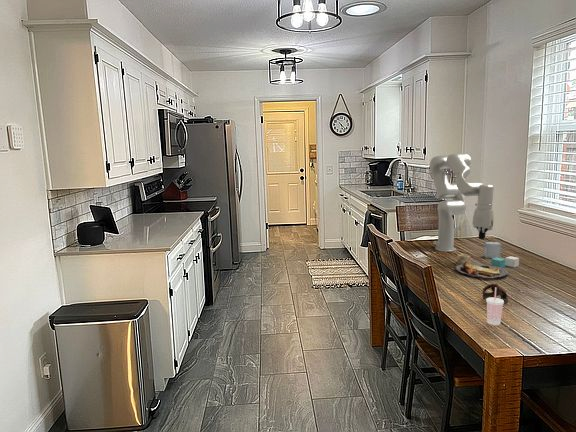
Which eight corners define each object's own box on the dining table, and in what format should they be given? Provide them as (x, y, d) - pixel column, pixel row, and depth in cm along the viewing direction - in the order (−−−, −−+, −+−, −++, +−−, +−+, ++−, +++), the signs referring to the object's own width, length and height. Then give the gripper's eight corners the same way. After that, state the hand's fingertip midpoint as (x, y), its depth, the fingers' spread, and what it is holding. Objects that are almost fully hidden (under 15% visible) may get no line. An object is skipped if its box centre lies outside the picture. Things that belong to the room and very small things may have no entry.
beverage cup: (505, 323, 165) (508, 287, 162) (497, 327, 161) (499, 291, 159) (490, 318, 170) (492, 283, 167) (481, 322, 166) (483, 287, 164)
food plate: (447, 273, 228) (448, 266, 227) (464, 264, 244) (465, 258, 244) (498, 284, 211) (498, 277, 210) (512, 273, 228) (513, 267, 227)
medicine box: (497, 256, 258) (498, 242, 257) (500, 258, 254) (501, 244, 253) (483, 256, 259) (484, 242, 258) (486, 258, 255) (487, 243, 253)
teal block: (491, 266, 238) (491, 258, 237) (496, 265, 241) (496, 257, 240) (499, 268, 234) (500, 260, 233) (504, 267, 237) (505, 259, 236)
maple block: (457, 263, 246) (457, 255, 245) (462, 261, 249) (462, 254, 248) (465, 265, 242) (465, 257, 241) (470, 263, 245) (470, 255, 244)
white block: (504, 265, 240) (505, 257, 239) (509, 264, 243) (510, 256, 242) (514, 267, 236) (514, 259, 235) (518, 265, 239) (519, 258, 238)
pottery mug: (510, 306, 182) (502, 291, 181) (487, 312, 187) (479, 297, 186) (508, 291, 192) (500, 275, 191) (487, 296, 197) (479, 282, 196)
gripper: (468, 205, 244) (465, 237, 247) (493, 209, 232) (490, 242, 236) (475, 204, 248) (473, 235, 252) (501, 208, 236) (498, 240, 240)
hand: (481, 238), depth 244 cm, fingers closed
